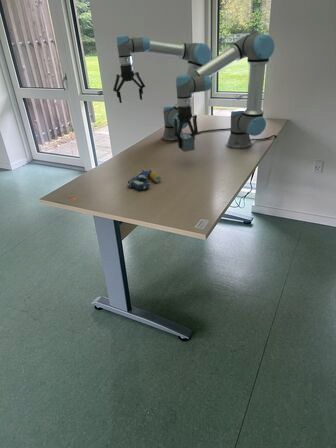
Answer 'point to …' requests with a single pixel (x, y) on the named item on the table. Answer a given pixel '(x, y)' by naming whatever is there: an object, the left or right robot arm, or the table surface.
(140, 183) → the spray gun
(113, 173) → the table surface
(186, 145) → the brick
